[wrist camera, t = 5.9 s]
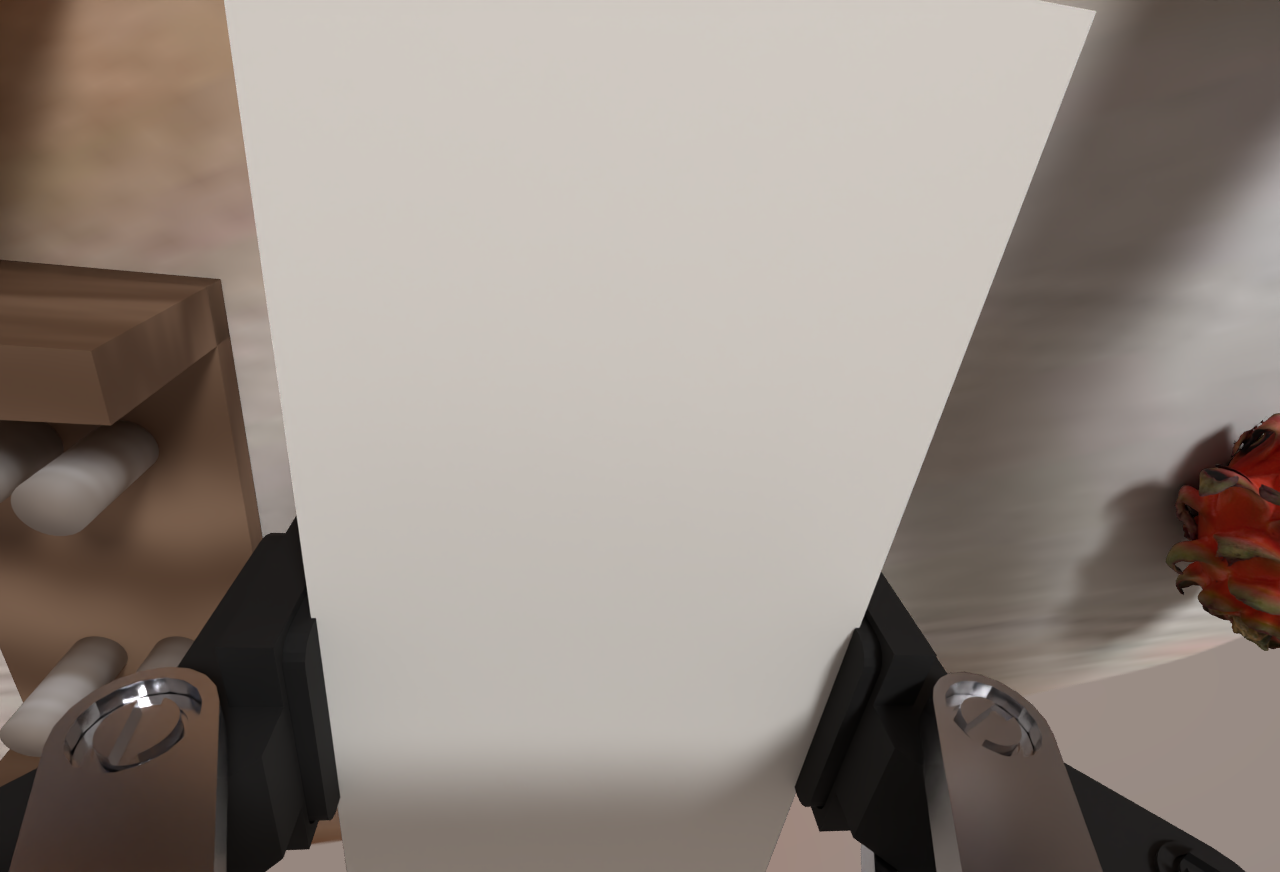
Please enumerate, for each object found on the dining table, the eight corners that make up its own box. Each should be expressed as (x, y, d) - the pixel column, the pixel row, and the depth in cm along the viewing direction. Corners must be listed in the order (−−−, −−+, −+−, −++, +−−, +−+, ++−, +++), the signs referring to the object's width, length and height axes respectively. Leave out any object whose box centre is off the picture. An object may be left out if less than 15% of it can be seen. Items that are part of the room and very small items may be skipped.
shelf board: (384, -35, 8) (202, -159, 4) (853, 45, 9) (1097, 11, 5) (419, 769, 15) (368, 1020, 11) (678, 765, 16) (718, 995, 12)
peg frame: (-135, 247, 20) (-439, 314, 14) (220, 279, 22) (91, 350, 15) (59, 734, 30) (-68, 900, 24) (293, 729, 31) (232, 882, 25)
